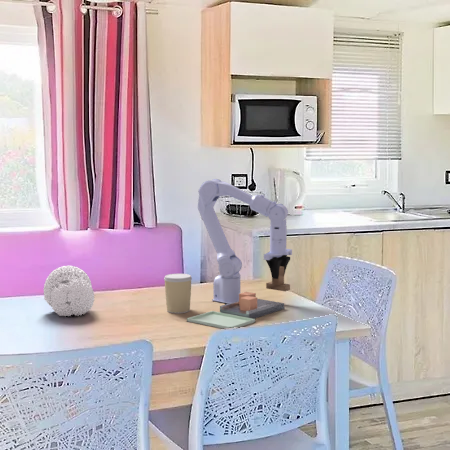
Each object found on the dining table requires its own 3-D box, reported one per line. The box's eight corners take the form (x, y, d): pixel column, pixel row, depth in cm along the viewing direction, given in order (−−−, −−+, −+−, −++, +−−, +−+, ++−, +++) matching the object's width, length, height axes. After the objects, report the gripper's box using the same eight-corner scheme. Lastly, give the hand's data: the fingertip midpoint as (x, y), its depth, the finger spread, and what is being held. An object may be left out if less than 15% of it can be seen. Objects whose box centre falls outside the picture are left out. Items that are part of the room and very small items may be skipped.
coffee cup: (196, 308, 257) (195, 274, 256) (186, 314, 249) (185, 279, 247) (171, 306, 260) (170, 272, 259) (160, 312, 252) (159, 277, 250)
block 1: (239, 305, 253) (239, 293, 252) (246, 303, 256) (246, 291, 255) (248, 307, 250) (248, 295, 250) (255, 304, 253) (255, 293, 253)
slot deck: (219, 314, 248) (219, 306, 248) (256, 304, 263) (256, 295, 263) (248, 320, 241) (248, 311, 240) (284, 308, 256) (284, 300, 256)
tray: (186, 321, 240) (186, 318, 240) (212, 313, 250) (212, 310, 250) (230, 330, 229) (230, 327, 229) (255, 322, 238) (255, 319, 238)
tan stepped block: (266, 288, 264) (266, 266, 263) (271, 287, 266) (271, 264, 265) (285, 291, 259) (285, 268, 258) (289, 290, 261) (290, 267, 260)
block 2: (240, 310, 246) (240, 298, 246) (247, 307, 249) (247, 296, 249) (249, 311, 244) (249, 299, 243) (257, 309, 247) (257, 297, 246)
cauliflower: (28, 286, 254) (57, 249, 251) (67, 302, 266) (95, 267, 263) (44, 323, 240) (75, 284, 237) (86, 338, 252) (115, 301, 249)
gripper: (275, 242, 252) (275, 282, 254) (299, 237, 264) (299, 275, 265) (258, 240, 257) (258, 279, 259) (282, 236, 268) (282, 273, 270)
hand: (278, 277), depth 262 cm, fingers closed on tan stepped block, 3 cm apart
